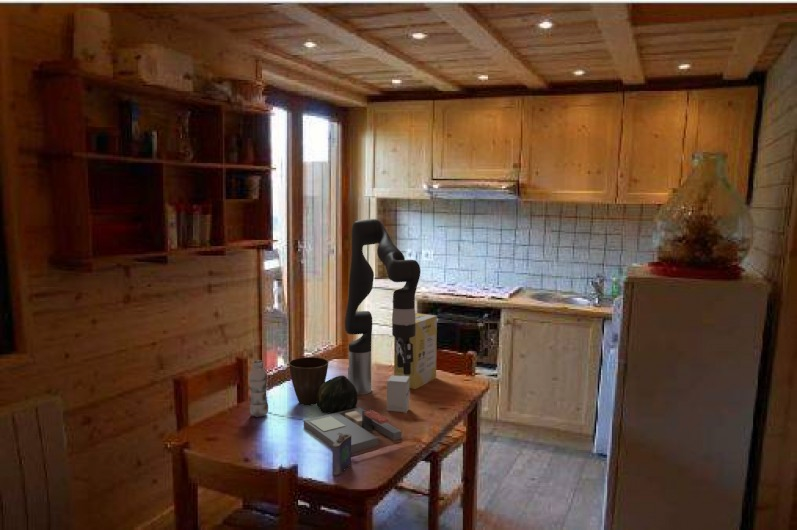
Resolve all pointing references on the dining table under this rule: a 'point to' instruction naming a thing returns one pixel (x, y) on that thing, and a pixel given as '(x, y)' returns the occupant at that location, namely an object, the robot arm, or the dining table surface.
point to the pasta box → (421, 351)
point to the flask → (341, 453)
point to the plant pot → (308, 378)
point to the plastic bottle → (258, 390)
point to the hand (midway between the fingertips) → (403, 370)
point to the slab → (354, 417)
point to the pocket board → (349, 430)
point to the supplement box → (398, 393)
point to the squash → (336, 395)
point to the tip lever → (372, 415)
